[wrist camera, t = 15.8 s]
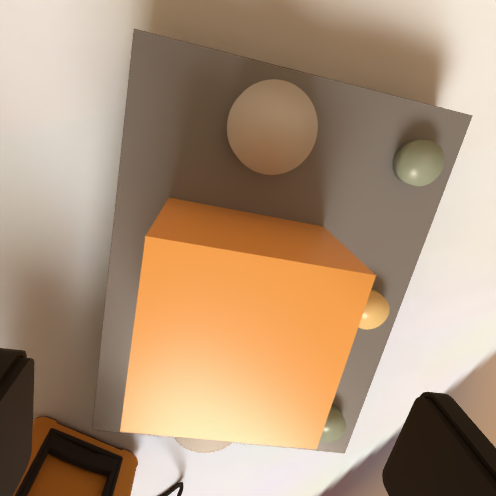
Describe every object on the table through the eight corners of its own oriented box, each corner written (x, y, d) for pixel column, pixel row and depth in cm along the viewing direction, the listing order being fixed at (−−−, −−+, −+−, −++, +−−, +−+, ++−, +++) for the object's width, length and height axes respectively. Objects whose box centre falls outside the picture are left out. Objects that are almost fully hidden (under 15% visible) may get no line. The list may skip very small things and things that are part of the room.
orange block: (169, 197, 16) (145, 236, 11) (323, 226, 18) (376, 275, 12) (148, 338, 19) (119, 431, 13) (287, 356, 20) (316, 449, 14)
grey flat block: (147, 44, 17) (125, 18, 13) (434, 116, 19) (496, 114, 15) (106, 392, 23) (82, 452, 19) (330, 416, 25) (353, 475, 21)
